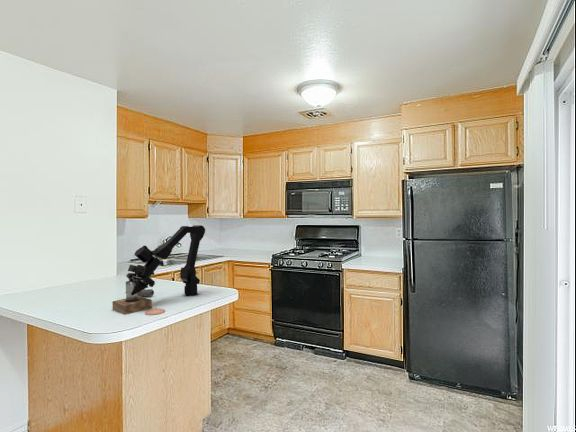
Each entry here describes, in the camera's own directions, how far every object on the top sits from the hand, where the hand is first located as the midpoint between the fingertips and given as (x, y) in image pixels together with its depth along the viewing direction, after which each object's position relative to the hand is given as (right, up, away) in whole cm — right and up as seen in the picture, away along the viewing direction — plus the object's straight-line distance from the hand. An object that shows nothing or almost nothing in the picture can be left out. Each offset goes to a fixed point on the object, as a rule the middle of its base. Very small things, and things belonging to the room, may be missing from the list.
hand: (128, 294), depth 166 cm
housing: (+1, -7, +1) cm, 7 cm away
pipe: (-4, -7, +25) cm, 26 cm away
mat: (+15, -7, -6) cm, 18 cm away
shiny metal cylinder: (+1, -7, +1) cm, 7 cm away
